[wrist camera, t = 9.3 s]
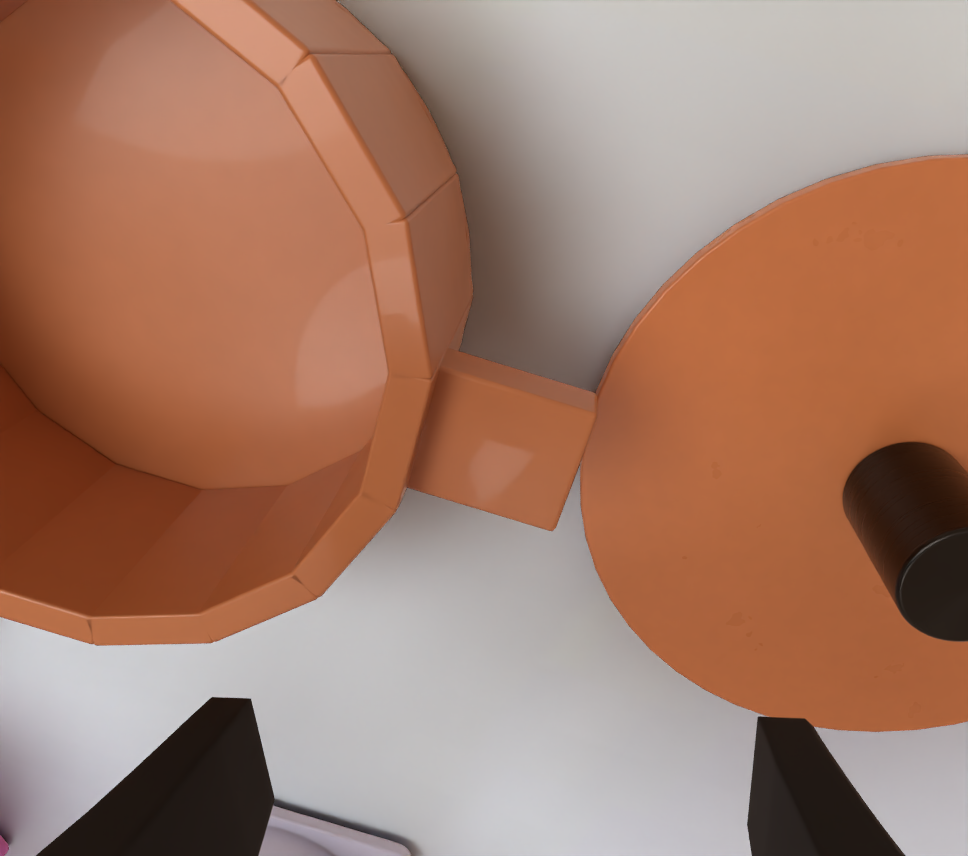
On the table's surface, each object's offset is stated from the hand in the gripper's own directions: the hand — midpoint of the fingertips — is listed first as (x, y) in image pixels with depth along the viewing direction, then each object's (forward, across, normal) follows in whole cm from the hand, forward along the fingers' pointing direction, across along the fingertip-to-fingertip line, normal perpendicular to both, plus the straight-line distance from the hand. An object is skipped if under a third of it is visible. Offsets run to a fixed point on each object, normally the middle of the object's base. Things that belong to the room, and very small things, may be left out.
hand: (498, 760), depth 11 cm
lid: (+8, -8, 0) cm, 11 cm away
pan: (+8, +7, -6) cm, 12 cm away
